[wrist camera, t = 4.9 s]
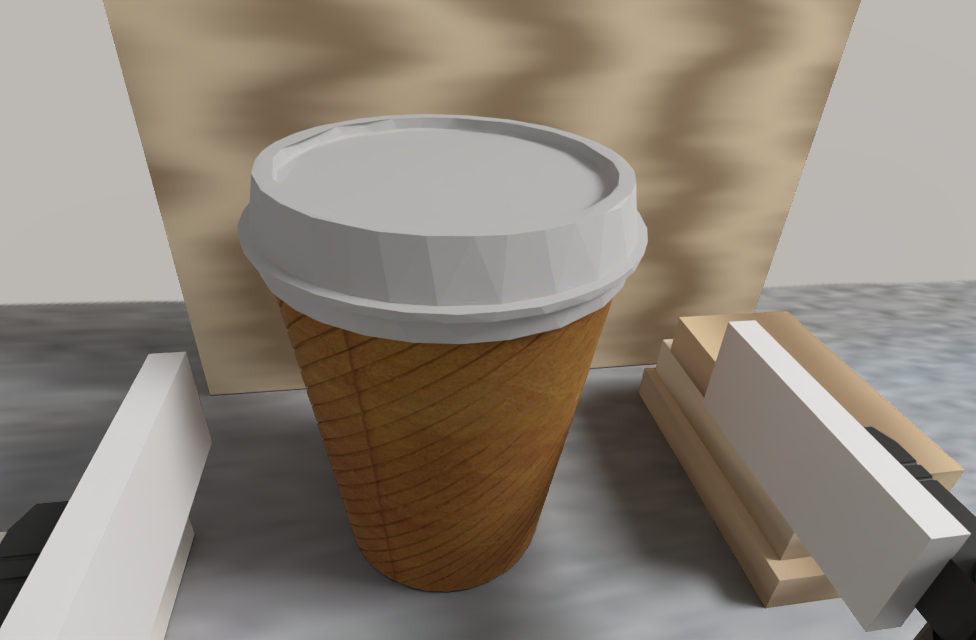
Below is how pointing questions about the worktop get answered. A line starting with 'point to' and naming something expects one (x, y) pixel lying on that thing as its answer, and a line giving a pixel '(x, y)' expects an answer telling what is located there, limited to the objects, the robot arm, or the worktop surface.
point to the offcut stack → (722, 472)
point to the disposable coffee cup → (443, 318)
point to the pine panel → (495, 94)
